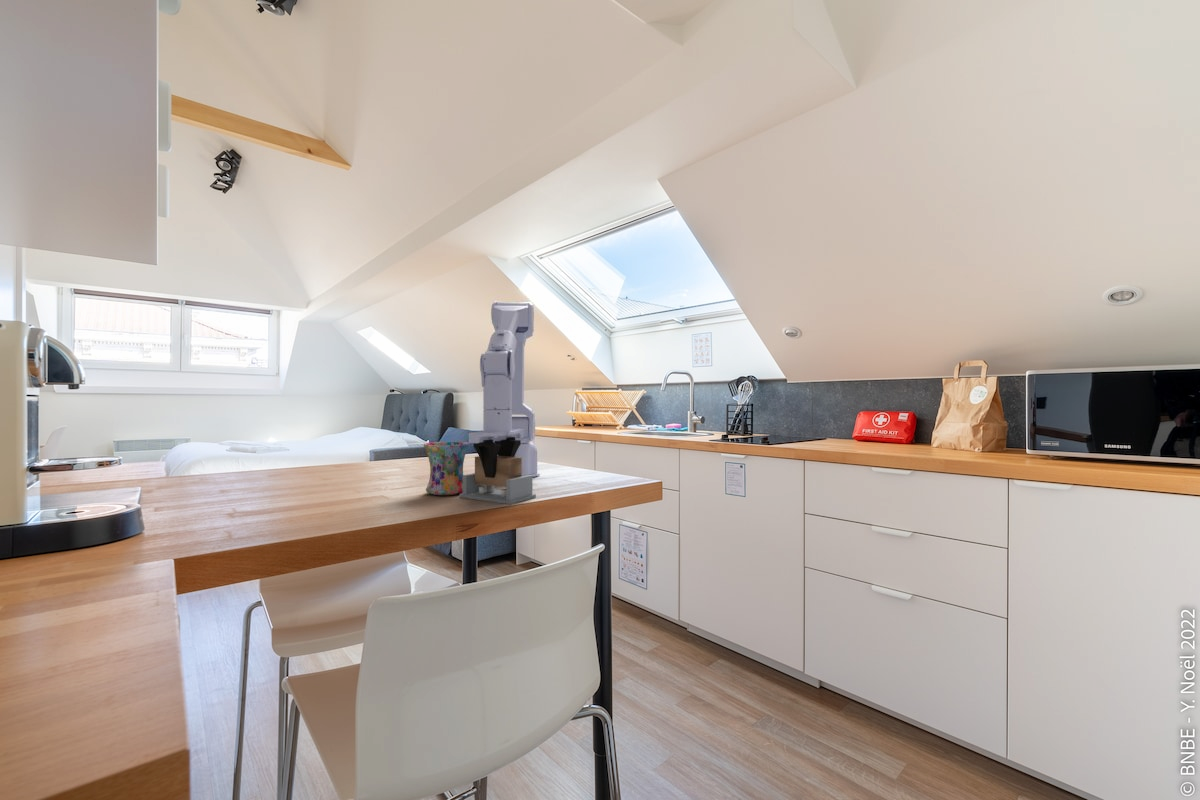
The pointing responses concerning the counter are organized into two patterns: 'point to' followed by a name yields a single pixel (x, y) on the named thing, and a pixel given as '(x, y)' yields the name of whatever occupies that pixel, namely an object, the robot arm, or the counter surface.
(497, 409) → the robot arm
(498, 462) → the shelf block
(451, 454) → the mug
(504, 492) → the peg cradle
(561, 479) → the counter surface
